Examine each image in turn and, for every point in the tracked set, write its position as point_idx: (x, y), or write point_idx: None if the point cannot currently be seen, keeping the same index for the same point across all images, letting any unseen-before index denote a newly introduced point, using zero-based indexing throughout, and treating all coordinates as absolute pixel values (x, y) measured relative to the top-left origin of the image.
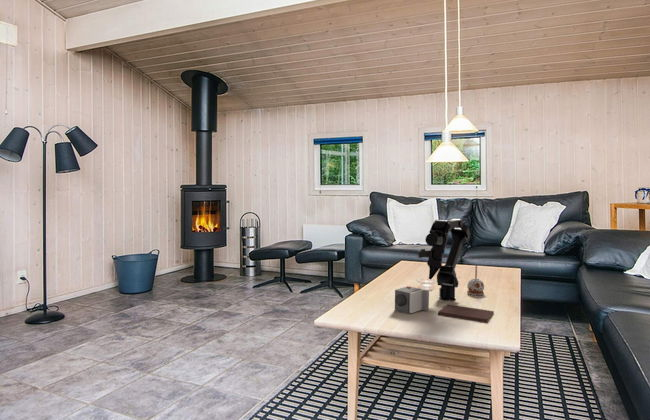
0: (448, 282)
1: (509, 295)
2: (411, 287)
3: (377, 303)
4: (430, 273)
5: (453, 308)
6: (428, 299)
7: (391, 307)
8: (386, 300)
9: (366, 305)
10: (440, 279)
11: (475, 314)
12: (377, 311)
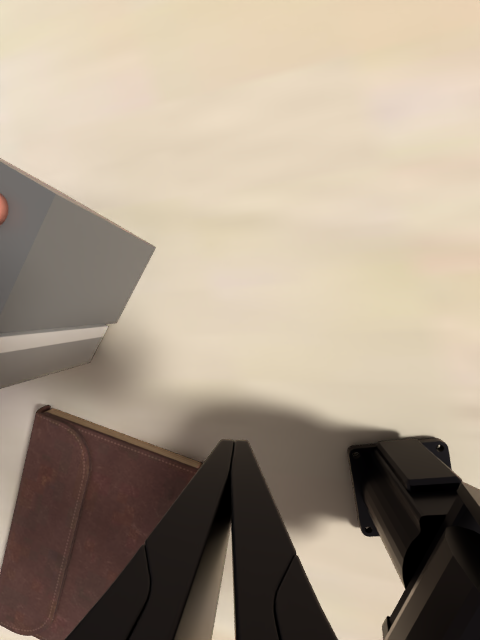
0: (387, 638)
1: None
2: (14, 233)
3: (153, 66)
4: (165, 536)
5: (126, 495)
6: (31, 376)
7: (99, 163)
8: (235, 102)
9: (95, 16)
10: (437, 580)
11: (43, 586)
12: (12, 107)
